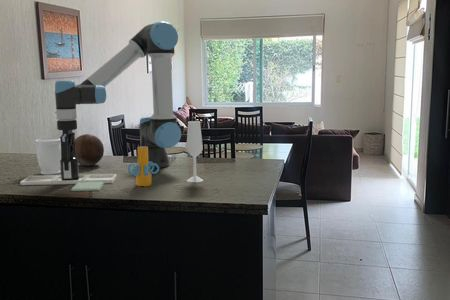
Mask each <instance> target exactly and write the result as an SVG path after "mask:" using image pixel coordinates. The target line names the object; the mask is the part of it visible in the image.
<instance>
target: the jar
mask: <svg viewBox="0 0 450 300" xmlns="http://www.w3.org/2000/svg"><path fill="white" fill-rule="evenodd" d="M35 143H36V151H35V152H36V158H37V161H38V166H39V168H40V175H58V174H61V166H60V160H61V140H60V137H59V138H58V137H48V138H47V137H45V138H39V139H35Z"/></svg>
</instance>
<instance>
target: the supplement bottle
mask: <svg viewBox="0 0 450 300" xmlns="http://www.w3.org/2000/svg"><path fill="white" fill-rule="evenodd" d="M65 159H66V158H65ZM70 162H71V178H65V179H64V170H63V163H61V160H60V171H61V172H60V175H61V180H62V181H65V180H79V175H80V174H79V173H80V172H79V163H78V159H77V158H76V157H75V151H70Z"/></svg>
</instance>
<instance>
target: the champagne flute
mask: <svg viewBox="0 0 450 300" xmlns="http://www.w3.org/2000/svg"><path fill="white" fill-rule="evenodd" d="M201 129H202V127H201V121H199V120H197V121H196V120H191V121H187V133H186V146H185V147H186V149H185V150H186V152H187V154H189V155H190V156H191V157H192V168H193V171H192V172H193V174H192V175H193V176H191V177H190V178H188V179H187V180H186V181H187V182H188V183H201V182H203V181H204V179H202V178H200V176H198V175H197V157H198V156H199V155H200V154H201V153H202V152H203V146H204V145H203V137H202V130H201Z"/></svg>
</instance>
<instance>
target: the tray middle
mask: <svg viewBox="0 0 450 300" xmlns="http://www.w3.org/2000/svg"><path fill="white" fill-rule="evenodd" d="M87 176H88V174H79V180H65V181H62V180H61V174H59V175H58V177H56V178H55V179H54V180H53V181H52V184H51V185H52V186H53V185H76V184H77V183H83V180H84V179H85V178H86V177H87Z"/></svg>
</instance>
